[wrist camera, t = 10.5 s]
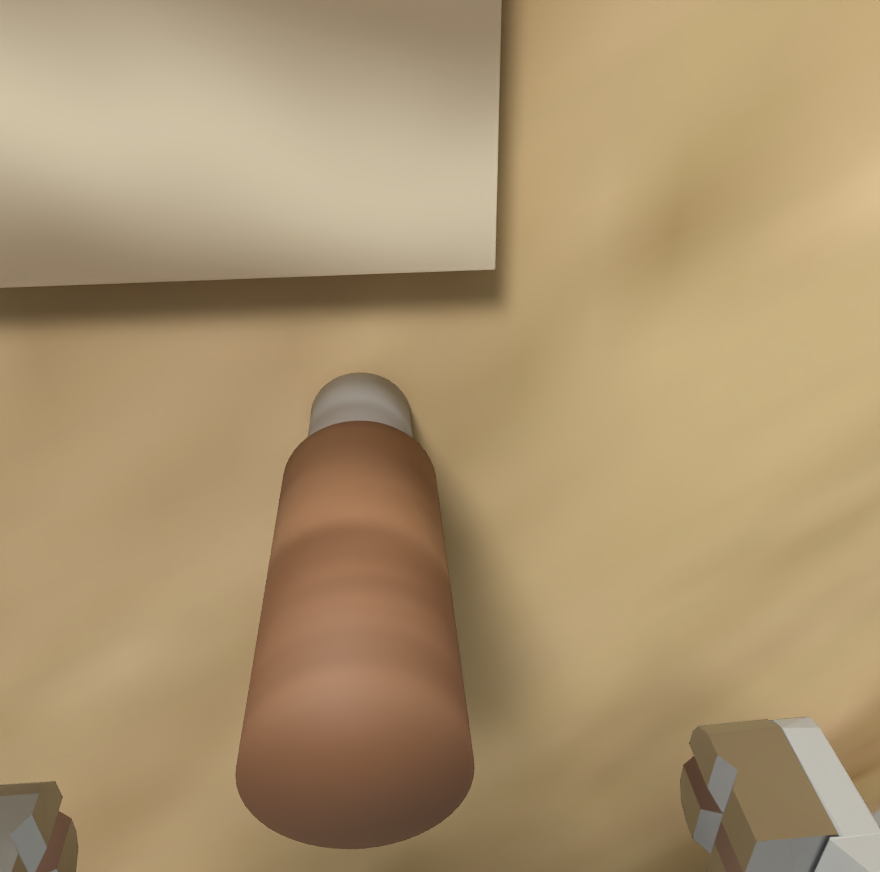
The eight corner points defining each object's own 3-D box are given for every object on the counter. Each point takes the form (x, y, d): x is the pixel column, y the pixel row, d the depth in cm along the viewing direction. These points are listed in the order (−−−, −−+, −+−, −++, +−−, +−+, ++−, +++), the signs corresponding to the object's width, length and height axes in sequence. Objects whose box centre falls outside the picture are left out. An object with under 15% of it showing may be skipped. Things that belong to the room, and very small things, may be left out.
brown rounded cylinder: (428, 469, 20) (473, 839, 12) (300, 476, 20) (251, 857, 12) (425, 353, 19) (475, 685, 10) (287, 359, 19) (218, 703, 10)
